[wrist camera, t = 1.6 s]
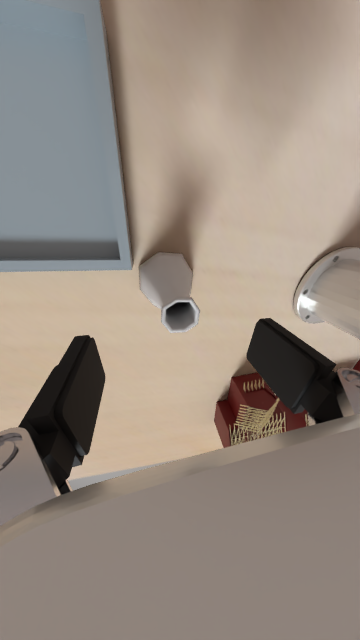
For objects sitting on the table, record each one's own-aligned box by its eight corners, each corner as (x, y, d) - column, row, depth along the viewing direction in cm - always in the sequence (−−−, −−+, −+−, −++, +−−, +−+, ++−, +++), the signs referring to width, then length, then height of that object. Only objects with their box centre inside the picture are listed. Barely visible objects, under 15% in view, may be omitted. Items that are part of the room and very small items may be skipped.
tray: (106, 31, 11) (97, -13, 9) (133, 265, 19) (131, 269, 17) (-210, -41, 9) (-327, -128, 6) (-27, 266, 17) (-52, 272, 14)
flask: (128, 260, 19) (116, 288, 11) (186, 243, 19) (219, 256, 11) (149, 311, 23) (152, 361, 14) (197, 296, 23) (227, 337, 15)
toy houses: (212, 425, 44) (229, 473, 35) (220, 373, 33) (246, 424, 25) (349, 393, 50) (392, 428, 41) (391, 342, 40) (460, 373, 31)
